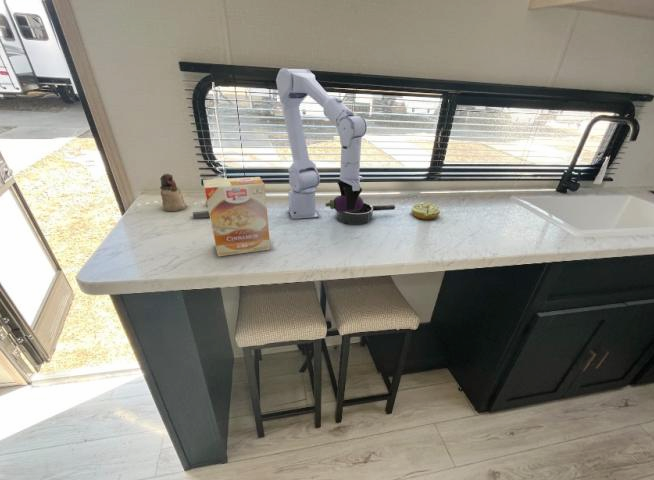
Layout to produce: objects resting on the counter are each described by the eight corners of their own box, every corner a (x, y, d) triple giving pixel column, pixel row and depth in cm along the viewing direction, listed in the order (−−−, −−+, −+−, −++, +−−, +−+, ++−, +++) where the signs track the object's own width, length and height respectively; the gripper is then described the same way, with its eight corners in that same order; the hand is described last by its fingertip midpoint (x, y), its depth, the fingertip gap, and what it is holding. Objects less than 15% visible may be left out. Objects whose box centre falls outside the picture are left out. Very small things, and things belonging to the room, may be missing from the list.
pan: (342, 226, 116) (342, 215, 113) (332, 212, 126) (333, 201, 123) (376, 223, 119) (378, 212, 117) (365, 210, 129) (365, 200, 127)
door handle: (190, 218, 107) (241, 212, 111) (195, 197, 123) (240, 193, 126) (193, 227, 109) (243, 222, 113) (197, 206, 125) (242, 201, 128)
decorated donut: (405, 214, 128) (406, 204, 126) (421, 208, 135) (423, 199, 132) (427, 222, 123) (429, 213, 120) (443, 216, 129) (445, 206, 127)
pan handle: (371, 211, 122) (371, 206, 121) (369, 209, 123) (370, 205, 122) (395, 210, 125) (396, 205, 124) (393, 208, 126) (394, 203, 125)
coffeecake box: (217, 257, 93) (203, 187, 82) (215, 246, 98) (201, 178, 87) (271, 250, 99) (265, 183, 87) (266, 239, 104) (259, 175, 92)
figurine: (178, 203, 124) (170, 169, 117) (189, 207, 121) (182, 173, 114) (160, 207, 119) (150, 173, 112) (171, 213, 116) (161, 178, 109)
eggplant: (360, 207, 111) (361, 192, 108) (364, 213, 107) (366, 197, 104) (324, 209, 107) (324, 194, 105) (327, 215, 104) (327, 199, 101)
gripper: (371, 168, 94) (367, 214, 102) (355, 155, 105) (353, 198, 113) (347, 168, 92) (345, 215, 100) (334, 155, 103) (333, 199, 111)
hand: (348, 206), depth 107 cm, fingers closed on eggplant, 5 cm apart
